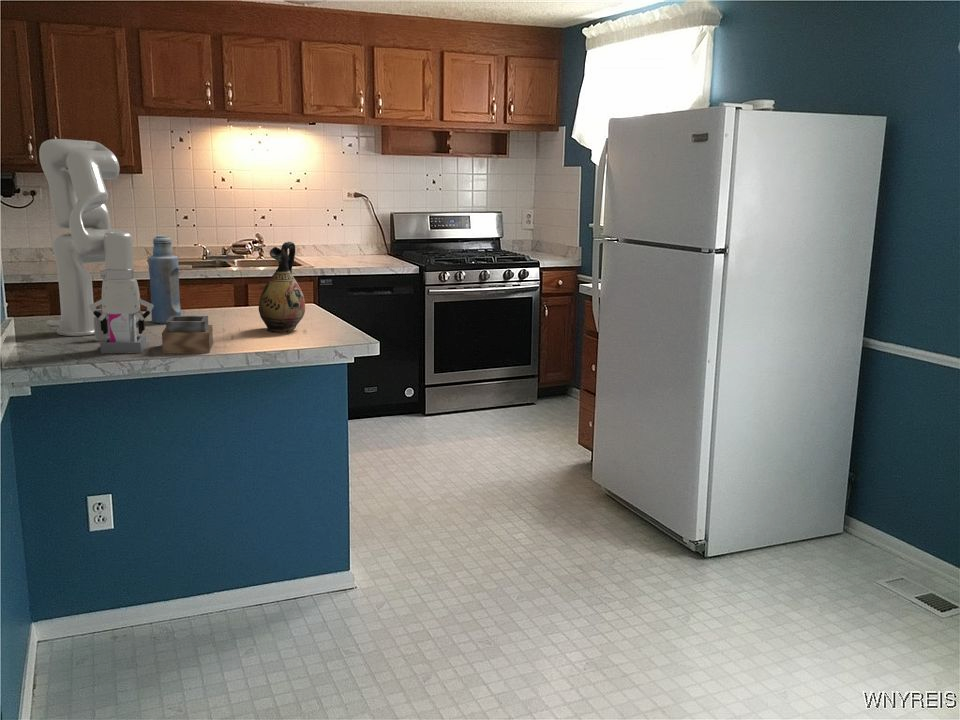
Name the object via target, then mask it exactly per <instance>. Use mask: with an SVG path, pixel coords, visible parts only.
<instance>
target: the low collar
mask: <svg viewBox="0 0 960 720" xmlns="http://www.w3.org/2000/svg"><path fill="white" fill-rule="evenodd" d="M99 345H100V347H99V348H100V354H141V353H142V352H143V351H144V349H146V347H147V346H146V345H148V344H147V335H137V342H110V336H107V337H106V338H105V339H104V340H103V341H100V343H99ZM145 346H146V347H145ZM142 350H143V351H142ZM129 352H130V353H129Z"/></svg>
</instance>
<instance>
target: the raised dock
mask: <svg viewBox="0 0 960 720" xmlns="http://www.w3.org/2000/svg"><path fill="white" fill-rule="evenodd" d="M163 329H164V330H162V332H161V340H162V341H161V345H162V346H161V347H162V354H204V353H210V352H211V350H212V348H213V344H214V336H213V335H214V334H213V324H209V316H208V315H181V316H170V317H169V319H168V320H167V321H166V324H165V328H163Z"/></svg>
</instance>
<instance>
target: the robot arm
mask: <svg viewBox="0 0 960 720" xmlns="http://www.w3.org/2000/svg"><path fill="white" fill-rule="evenodd" d="M38 153H39V155H38V157H39V163H40V165H41V169H42V171H43V174H44V175H45V178H46V180H47V183H48V187H49V194H50V200H51V208H52V214H53V215H52V216H53V219H54V223H55V225H56V226H57V227H58V228H61V229H64V230H69V231H70V232H68V233H62V234H59V235H57V236H56V237H55V238H53V241H52V251H53V255H54V259H55V263H56V271H57V278H58V281H57V282H58V290H59V291H58V293H59V303H60V317H61V318H60V319H58V320H52V319H51V320H48V319H47V322H46V325H47V327H49V328H54V327H55V328H56V327H57V328H58V329H56V334H57V335H60V336H67V337H81V336H83V337H84V336H91V335H95V330H94V317H97V318H98V319H99V320H100V321H101V331H103V334H106V333H107V332H108V324H107V319H106V316H107V315H117V314H122V313H129V315H133V314H135V317H137V318H138V321H137V324H138V327H137V328H138V334H139V335H140V334H143V333H144V331H145V329H146V323H145V319H146V318H147V317H148V316H150V314H151V311H152V309H153V307H154V305H153V304H151V302H148V301H147V300H144V299H142V298H141V294H140V287H139V284H138V280H137V278H136V279H135V270H134V268H135V267H134V252H133V251H134V250H133V249H134V248H133V237H132V235H131V233H129V232H126V231H122V230H120V229H112V226H111V218H110V212H109V209H108V207H107V205H106V203H107V201H108V199H109V194H108V191H107V188H106V185H105V181H104V180H115V179H117V178H118V177H119V174H120V170H121V169H120V168H121V167H120V163H119V159H118V158H117V156H116V155H115V154H114V153H113V151H111V150H110V149H109V148H107V147H106V146H105V145H103V144H101V143H100V142H97V141H94V140H93V141H92V140H83V139H82V140H81V139H80V140H79V139H66V138H51V139H47V140H45V141H43V142H42V143H41V145H40V147H39V152H38ZM98 263H99V264H101V263H104V270H100V271H99V275H100V276H103V277H104V278H105V279H103V280H102V283H101V284H102V285H101V299H99V300H96V301H95V302H94V292H93V291H94V290H93V279H92V276H91V274H90V272H89V271H88V270H87V269H86V268H85V266H84V264H98ZM99 305H100V306H101V309H102V312H103V313H102V314H101V313H100V312H99V311H98V310H97V309H98V308H97V307H99ZM142 306H144V307H146V308H147V309H146V311H145V312H144V313H143V312H142V311H141V309H142Z"/></svg>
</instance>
